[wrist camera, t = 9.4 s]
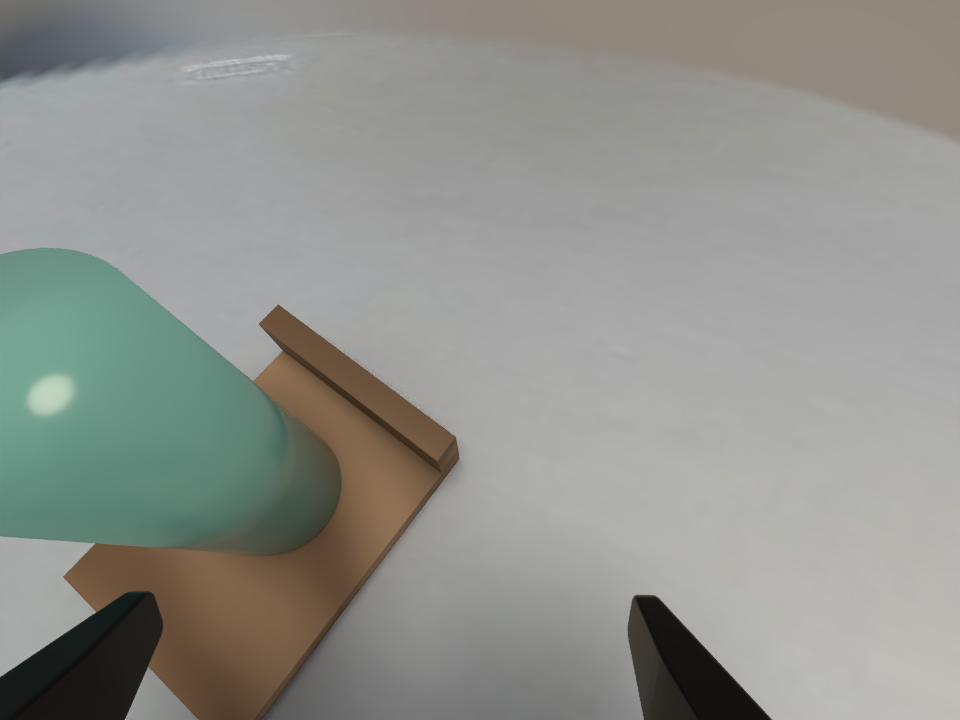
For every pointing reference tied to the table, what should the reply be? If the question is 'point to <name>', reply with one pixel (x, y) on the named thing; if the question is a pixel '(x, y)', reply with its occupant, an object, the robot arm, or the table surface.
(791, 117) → the table surface
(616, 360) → the table surface
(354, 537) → the shelf board
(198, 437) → the mint green capsule
